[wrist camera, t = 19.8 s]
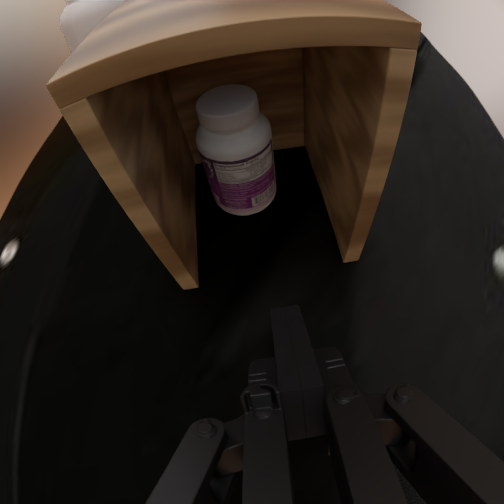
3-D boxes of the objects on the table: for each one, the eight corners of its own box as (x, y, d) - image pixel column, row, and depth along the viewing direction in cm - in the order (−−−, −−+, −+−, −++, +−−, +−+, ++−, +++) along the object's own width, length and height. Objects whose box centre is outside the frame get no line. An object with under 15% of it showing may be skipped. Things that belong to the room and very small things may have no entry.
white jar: (141, 67, 44) (108, -29, 27) (191, 72, 39) (159, -46, 22) (85, 108, 40) (36, 7, 22) (127, 120, 35) (71, -12, 18)
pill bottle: (214, 175, 28) (187, 86, 19) (272, 166, 27) (262, 73, 19) (215, 223, 25) (181, 129, 17) (280, 214, 25) (272, 114, 16)
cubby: (358, 260, 22) (422, 23, 7) (183, 290, 22) (45, 85, 7) (313, 137, 29) (310, -33, 14) (183, 159, 29) (126, -1, 15)
